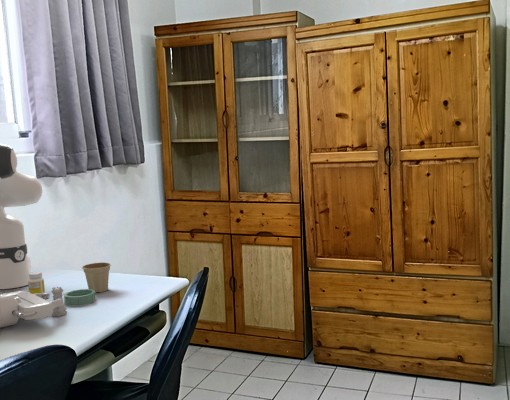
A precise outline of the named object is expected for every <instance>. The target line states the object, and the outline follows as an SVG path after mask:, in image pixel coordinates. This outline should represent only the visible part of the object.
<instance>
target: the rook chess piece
mask: <svg viewBox="0 0 510 400" xmlns="http://www.w3.org/2000/svg"><path fill="white" fill-rule="evenodd" d="M63 291H64V289H63V287H62V286H56V287H55V286H54V287H52V289H51V293H52V299H53V301H54V300H55V299H59V298H60V299H62V300H63V297H64V294H63ZM67 313H68V311H67V307H66V305H65V303H63V305H62V306H58V307H56V308H54V309H53V314H52V315H51V316H52V317H63V316H65V315H67Z"/></svg>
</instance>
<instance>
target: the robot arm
mask: <svg viewBox="0 0 510 400" xmlns="http://www.w3.org/2000/svg"><path fill="white" fill-rule="evenodd" d="M17 166H18V158H17V155H16V153H15V151H14V148H13V147H11V146H10V145H8V144H4V143H0V290H10V289H15V288H21V287H26V286H29V285H28V280H29V279H30V278H29V273H31V272H33V269H32V268H33V267H32V263H31V259H30V257H29V256H28V255H27V254H28V246H27V243H26V241H25V240H26V238H25V227H24V224H23V221H21V220H20V219H19V218H16V216H15V217H14V216H12V215H9V214H8V213H7V212H6V211H5V208H12V207H13V208H15V207H25V206H29V205H34V204H38V202H39V201H40V200H41V197H42V195H43V187H42V183H41V182H40V180H39V179H38V178H37V177H36V176H33V175H29V174H25V173H23V172H21V171H19V170H18V169H17ZM48 300H49V301H48ZM63 304H64V299H63V298H62V299H60V298H59V299H55V300H54V299H53V300H52V301H51V300H50V293H48V292H45V293H42V294H31V293H29V291H26V290H18V291H10V292H5V293H4V292H0V329H1V328H4V327H9V326H14V325H17V323H18V321H19V319H23V320H25V321H31V320H32V321H33V320H38V319H42V318H47V317H51V316H52V314H53V309H54V308H56V307H58V306H62V305H63Z"/></svg>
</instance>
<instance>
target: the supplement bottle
mask: <svg viewBox="0 0 510 400" xmlns="http://www.w3.org/2000/svg"><path fill="white" fill-rule="evenodd" d="M29 278H30V279H29V280H28V285H27V286H28V292H29V293H31V294H42V293H46V290H45V280H44V278H43V272H42V271H32V272H31V273H29Z"/></svg>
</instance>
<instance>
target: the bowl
mask: <svg viewBox="0 0 510 400" xmlns="http://www.w3.org/2000/svg"><path fill="white" fill-rule="evenodd" d="M96 295H97V294H96V293H95V291H94V290H91V289H88V288H81V289H74V290H70V291H67V292H65V293H64V294H63V304H64V305H65V306H69V307H80V306H87V305H90V304H92V303H94V302H96V301H97V299H96V297H97V296H96Z"/></svg>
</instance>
